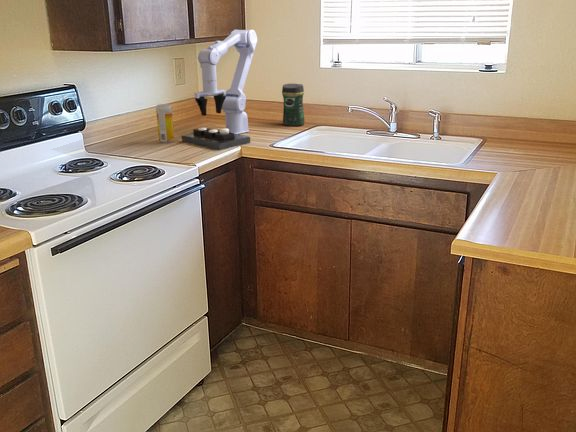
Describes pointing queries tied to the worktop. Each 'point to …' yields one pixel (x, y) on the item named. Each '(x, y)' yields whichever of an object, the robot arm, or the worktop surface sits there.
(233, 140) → the push button control box
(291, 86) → the coffee jar
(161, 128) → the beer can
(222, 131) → the button
